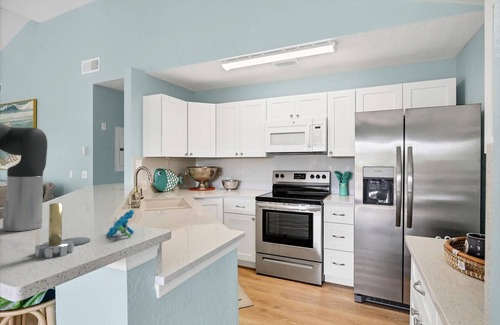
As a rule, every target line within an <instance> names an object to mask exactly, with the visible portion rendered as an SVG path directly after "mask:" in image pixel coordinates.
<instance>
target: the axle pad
mask: <svg viewBox="0 0 500 325" xmlns="http://www.w3.org/2000/svg"><path fill="white" fill-rule="evenodd" d="M63 240H64V241H73V243H74V247H77V246H81V245H85V244H87V243H90V242H91V238H89V237H81V236H80V237H70V238H65V239H63Z"/></svg>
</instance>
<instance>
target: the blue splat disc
mask: <svg viewBox="0 0 500 325" xmlns="http://www.w3.org/2000/svg"><path fill="white" fill-rule="evenodd" d="M134 214H135V211H134V210H133V209H129V211H126V212H125V213H124V215H121V216H120V217H119V219H118V220H116V221H115V222H114V223H113V226H111V227H110V228H109V229H108V231H107V233H106V235H107V236H108V237H109V238H111V237H112V236H115V235H117V232H118V231H119V232H120V233H121V234H122V235H124V234H125V235H126V236H127V237H128V238H131V237H132V234H134V232H135V231H134V230H133V229H132V228H131V227H129V226H128V223H129V222H130V221H129V219H132V218H133V216H134ZM128 232H129V233H128Z"/></svg>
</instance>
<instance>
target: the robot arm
mask: <svg viewBox="0 0 500 325" xmlns="http://www.w3.org/2000/svg"><path fill="white" fill-rule="evenodd" d="M0 151H2V152H4V153H6V154H10V155H13V156H19V157H20V160H19V162H17V163H15V164H14V165H12V166H10V167H8V168H7V171H6V172H7V173H6V174H7V175H6V176H7V177H6V180H7V182H6V199H5V200H3V202H2V204H3V206H2V207H3V208H2V231H3V232H4V231H5V232H6V231H8V232H21V231H22V232H23V231H30V230H36V229H39V228H42V226H43V199H44V198H43V194H44V193H43V192H44V171H45V168H46V165H47V155H48V139H47V135H46V134H45V132H44V131H43V130H42V129H40V128H36V127H13V126H10V125H5V124H3V123H0Z"/></svg>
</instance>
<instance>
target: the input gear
mask: <svg viewBox="0 0 500 325" xmlns="http://www.w3.org/2000/svg"><path fill="white" fill-rule="evenodd" d="M48 205H49V206H48V207H49V208H48V209H49V210H48V211H49V212H48V213H49V214H48V241H45V242H43V243H42V244H37V245H35V247H34V256H35V258H37V257H38V258H39V257H40V258H43V257H44V258H45V259H51V258H54V257H58V256H59V257H63V256H67V255H68V253H69V254H70V253H73V252H74V251H75V249H74V248H75V246H74V243H73V241H64V239H62V235H63V234H62V233H63V229H62V228H63V202H62V203H61V202H54V203H49V204H48ZM40 258H39V259H40Z"/></svg>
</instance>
